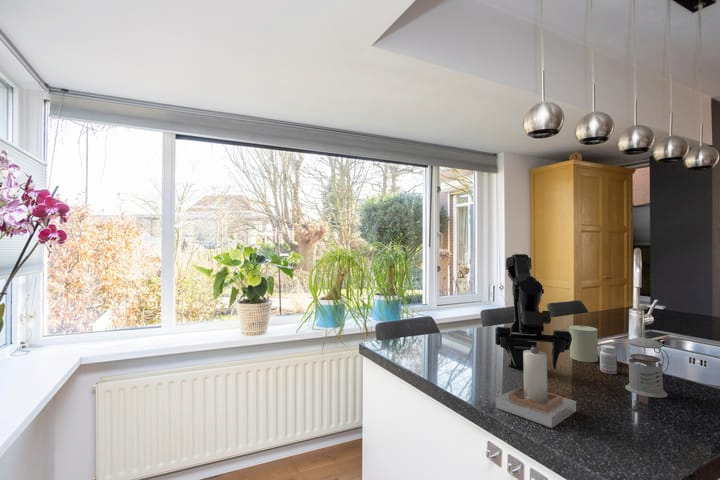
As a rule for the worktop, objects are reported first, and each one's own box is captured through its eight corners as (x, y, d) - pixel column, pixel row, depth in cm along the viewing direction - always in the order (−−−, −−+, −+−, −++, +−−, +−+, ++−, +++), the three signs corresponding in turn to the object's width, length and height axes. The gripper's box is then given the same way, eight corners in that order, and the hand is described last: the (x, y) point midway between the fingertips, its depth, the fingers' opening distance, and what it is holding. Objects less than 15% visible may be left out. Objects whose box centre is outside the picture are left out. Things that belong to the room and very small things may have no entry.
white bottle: (519, 396, 96) (518, 345, 96) (537, 394, 97) (537, 344, 97) (533, 404, 90) (532, 351, 91) (552, 403, 91) (551, 350, 92)
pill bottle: (620, 374, 119) (619, 348, 120) (604, 373, 120) (603, 348, 120) (613, 369, 124) (612, 345, 124) (597, 369, 125) (597, 344, 125)
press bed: (496, 407, 94) (495, 394, 95) (522, 394, 103) (522, 381, 103) (551, 428, 84) (551, 412, 84) (576, 411, 92) (575, 397, 93)
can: (594, 356, 140) (593, 325, 140) (601, 363, 131) (601, 330, 131) (567, 354, 143) (566, 323, 143) (572, 360, 134) (572, 328, 134)
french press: (616, 385, 110) (614, 302, 111) (652, 383, 111) (650, 302, 112) (644, 398, 100) (642, 307, 101) (683, 396, 101) (680, 306, 102)
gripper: (495, 298, 102) (496, 347, 92) (569, 300, 96) (581, 354, 86) (494, 320, 110) (496, 368, 99) (564, 324, 104) (573, 376, 93)
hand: (534, 366), depth 94 cm, fingers open, 9 cm apart
